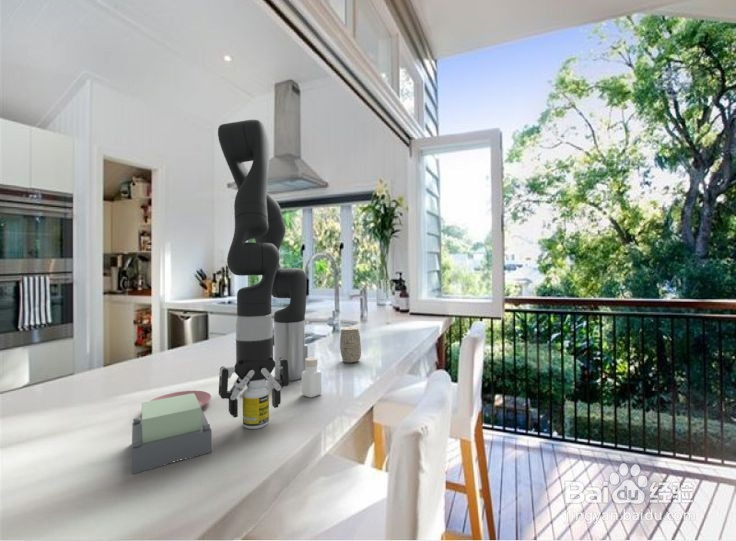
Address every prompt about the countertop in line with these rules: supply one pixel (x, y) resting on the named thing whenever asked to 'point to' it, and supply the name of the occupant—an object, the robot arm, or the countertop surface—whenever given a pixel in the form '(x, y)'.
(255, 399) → the supplement bottle
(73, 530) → the countertop surface
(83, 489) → the countertop surface
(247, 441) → the countertop surface
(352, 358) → the carving
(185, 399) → the sponge in grey tray
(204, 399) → the plate
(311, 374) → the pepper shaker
